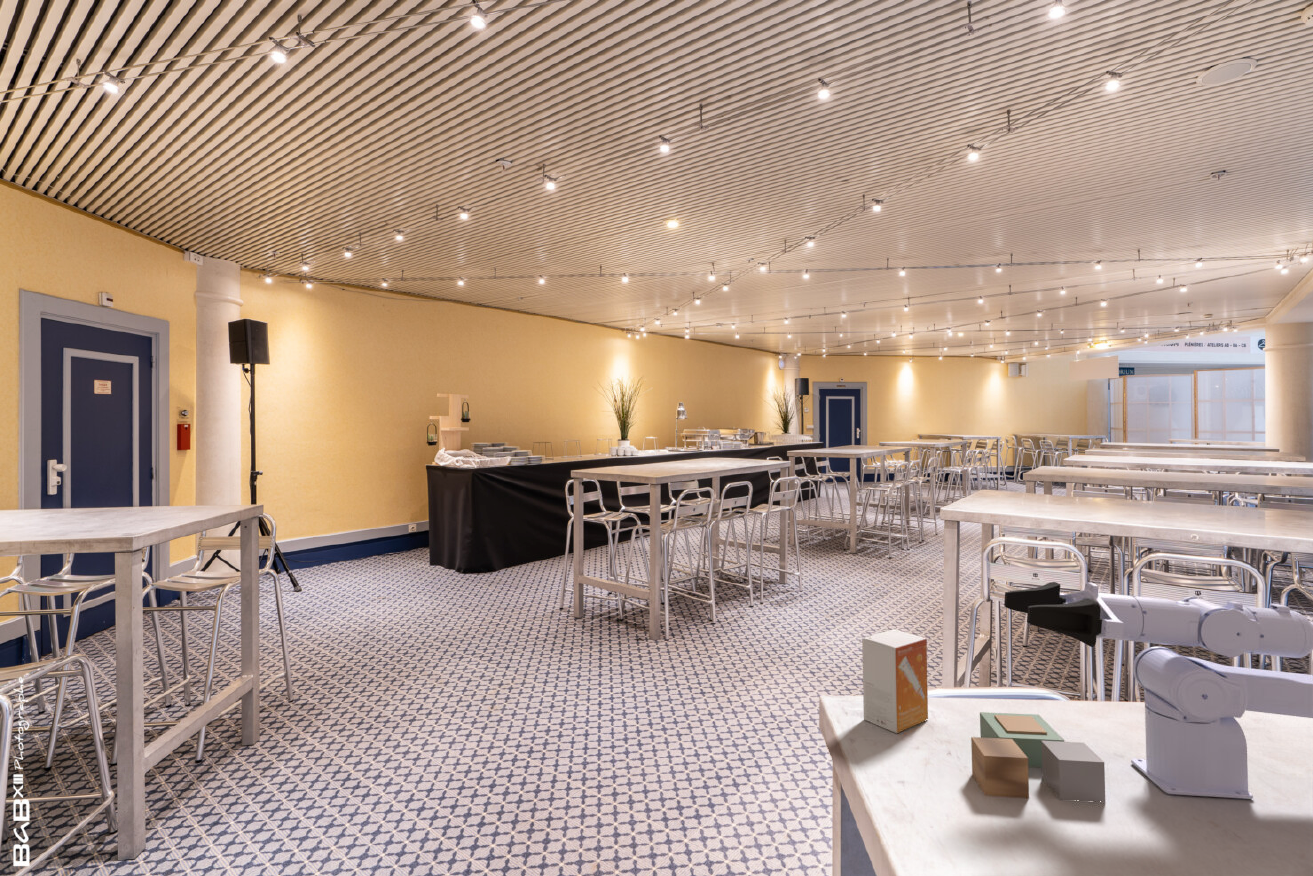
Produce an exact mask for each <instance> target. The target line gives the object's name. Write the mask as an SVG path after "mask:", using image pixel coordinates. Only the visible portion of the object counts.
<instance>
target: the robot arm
mask: <svg viewBox="0 0 1313 876" xmlns="http://www.w3.org/2000/svg"><path fill="white" fill-rule="evenodd" d="M1003 607H1005V608H1006V609H1009V610H1012V611H1015V612H1020V613H1024V614H1026V616H1027V617H1026V623H1027V624H1029V625H1031V626H1034V627H1036V628H1037V627H1038V628H1041V629H1045V630H1048V631H1052V632H1055V633H1059V634H1062V635H1064V636H1068V637H1069V638H1073V639H1074V640H1077V641H1079V642H1081V643H1083V644H1085V645H1087V646H1089V647H1091V648H1093V647H1094V648H1095V645H1096V644H1097V640H1098V639H1099V640H1100V639H1107V640H1108V639H1109V640H1117V641H1127V642H1138V643H1148V644H1157V645H1166V646H1167V645H1168V646H1183V647H1185V646H1186V647H1194V648H1197V647H1198V646H1199V647H1201V648H1203V649H1205V650H1207V651H1209V652H1211V653H1212V654H1213V653H1214V654H1218V655H1220V656H1224V657H1227V658H1230V659H1231V658H1236V657H1239V656H1242V655H1244V654H1253V655H1264V656H1273V657H1283V658H1292V659H1293V658H1294V659H1301V658H1305V657H1306V656H1308V655H1309V654H1310V653H1311V652H1312V651H1313V621H1309V620H1308V619H1307V617H1305V616H1304V615H1302V613H1299V612H1298V611H1296V610H1291V608H1290V607H1289V606H1286V605H1283V604H1280V603H1279V604H1278V603H1270V604H1269V607H1268V608H1267V607H1259V606H1258V607H1257V606H1256V607H1255V606H1247V605H1245V606H1244V605H1243V604H1242V603H1241V602H1238V601H1235V600H1233V601H1232V600H1228V601H1226V604H1223V605H1220V604H1217V603H1213V602H1210V601H1208V600H1205V599H1202V598H1197V596H1185V597H1183V598H1181V599H1178V600H1172V599H1169V598H1162V597H1161V598H1160V597H1151V596H1149V597H1148V596H1140V595H1126V594H1117V593H1106V592H1099V586H1098V585H1097V584H1095V583H1093V582H1085V584H1084V589H1083V590H1079V591H1073V592H1071V593H1066V592H1061V583H1058V582H1056V581H1051V582H1048V583H1046V584H1043V585H1041V586H1037V587H1034V588H1027V589H1017V590H1010V591H1005V592H1004V606H1003ZM1132 673H1133V676H1134V678H1135V681H1136V682H1137V683H1138V684H1139V685H1140V687H1141V688H1143V694H1144V695H1143V697H1144V714H1145V715H1144V716H1145V717H1144V719H1145V721H1144V722H1145V725H1144V727H1145V754H1146V755H1145V759H1144V758H1131V759H1130V763H1131V764H1132V765H1134V766H1135V767H1136V768H1137V769H1138V770H1139V771H1140V772H1142V774H1144V775H1145V776H1146V777H1147V778H1148V779H1149V780H1150V781H1152V782H1153V783H1154V784H1155V785H1156V786H1157V787H1158V788H1159V789H1160V790H1162V791H1163V792H1164V793H1166V794H1168V795H1182V796H1193V797H1194V796H1196V797H1197V796H1198V797H1211V798H1212V797H1213V798H1214V797H1215V798H1226V799H1227V798H1228V799H1229V798H1231V799H1244V800H1245V799H1246V800H1247V799H1249V800H1251V799H1254V794H1253V793H1252V792H1250V791H1249V777H1248V776H1249V774H1248V771H1249V770H1248V744H1247V743H1248V742H1247V739H1246V736H1245V732H1244V730H1243V728H1242V726H1241V724H1240V723H1239V722H1238V721H1237V719H1240V718H1242V717H1243V715H1244V714H1245V712H1246V711H1248V712H1254V713H1255V712H1258V713H1265V714H1272V715H1281V716H1288V717H1289V716H1291V717H1299V718H1307V719H1313V674H1305V673H1298V672H1297V673H1296V672H1286V671H1278V670H1269V669H1259V668H1249V667H1241V666H1240V667H1239V666H1231V665H1223V664H1219V663H1216V662H1212V661H1210V660H1209V661H1208V660H1206V659H1203V658H1202V659H1201V658H1199V657H1195V656H1194V657H1193V656H1185V655H1182V654H1180V653H1177V651H1174V650H1173V649H1171V648H1169V647H1164V646H1151V647H1148V648H1144V649H1143V650H1142V651H1140V652H1139V653H1138V654H1137V655H1136V657H1135V658H1134V660H1133V664H1132ZM1236 718H1237V719H1236Z"/></svg>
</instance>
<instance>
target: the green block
mask: <svg viewBox="0 0 1313 876" xmlns="http://www.w3.org/2000/svg"><path fill="white" fill-rule="evenodd" d="M979 729H980V733H979V734H980V738H1000V739H1013V741H1014V742H1015V743H1016V744H1017V746H1018V747H1019V748H1020V749H1021V750H1022V752H1023V753H1024V754H1025V755H1026V756H1027V758H1028V768H1029V767H1031V768H1042V746H1041V741H1061V742H1065V740H1064V739H1063V738H1062V736H1061V735H1060V734H1059V733H1057V731H1056V730H1055V729H1054V728H1053V727H1051V725H1050V724H1049V723H1048V722H1047V721H1046V720H1045V719H1044V718H1043V717H1042V716H1040V714H1035V713H1007V712H987V711H986V712H984V711H983V712H979Z"/></svg>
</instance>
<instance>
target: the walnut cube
mask: <svg viewBox="0 0 1313 876" xmlns="http://www.w3.org/2000/svg"><path fill="white" fill-rule="evenodd" d="M970 740H971V742H970V743H971V775H972V777H973V778H974V779H975V781H976V782H977V784H978V786H979V788H980V789H981V791H982V793H983V795H984V796H986V797H1002V798H1005V797H1006V798H1017V799H1030V784H1029V779H1030V778H1029V767H1028V758H1027V756H1026V755H1025V754H1024V753H1023V752H1022V750H1021V749H1020V748H1019V747H1018V746H1017V744H1016V743H1015V742H1014V741H1013V739H1000V738H981V737H976V736H975V737H974V736H971V738H970Z"/></svg>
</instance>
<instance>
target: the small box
mask: <svg viewBox="0 0 1313 876" xmlns="http://www.w3.org/2000/svg"><path fill="white" fill-rule="evenodd" d="M861 641H862V644H861V645H862V649H861V650H862V688H863V689H862V692H863V693H862V694H863V701H862V702H863V720H864V721H867V722H869V723H871V724H874V725H875V726H877V727H880V728H883V729H885V730H888V731H891V732H893V733H895V734H898V733H901V732H902V731H904V730H907V729H909V728H912V727H914V726H917V725H919V724H921V722H922V723H923V721H925V720H926V719H929V707H928V705H929V703H928V702H929V701H928V699H929V697H928V646H927V645H928V644H927V643H928V642H927V641H928V639H927V638H926V637H923V636H920V635H917V634H912V633H910V632H905V631H902V630H898V629H895V628H894V629H890V630H887V631H883V632H878V633H875V634H873V635H870V636H865V637H862V639H861ZM925 722H926V721H925ZM916 724H917V725H916Z"/></svg>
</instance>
